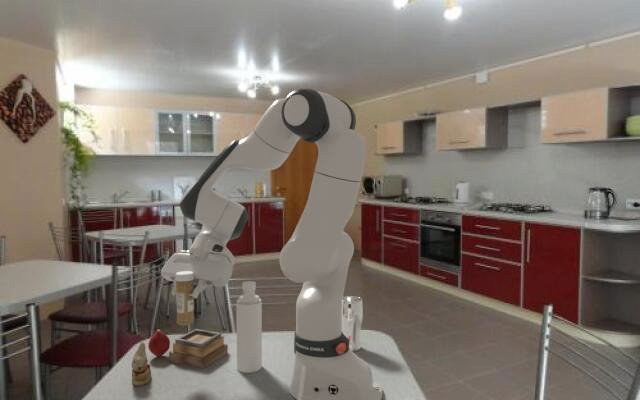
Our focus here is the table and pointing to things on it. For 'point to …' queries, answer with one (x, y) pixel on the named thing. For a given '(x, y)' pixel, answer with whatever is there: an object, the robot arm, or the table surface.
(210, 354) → the brown wooden square tray
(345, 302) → the beer glass
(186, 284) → the sprinkles bottle
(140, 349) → the chocolate bunny
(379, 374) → the table surface
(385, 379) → the table surface
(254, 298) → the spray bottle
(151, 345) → the onion
